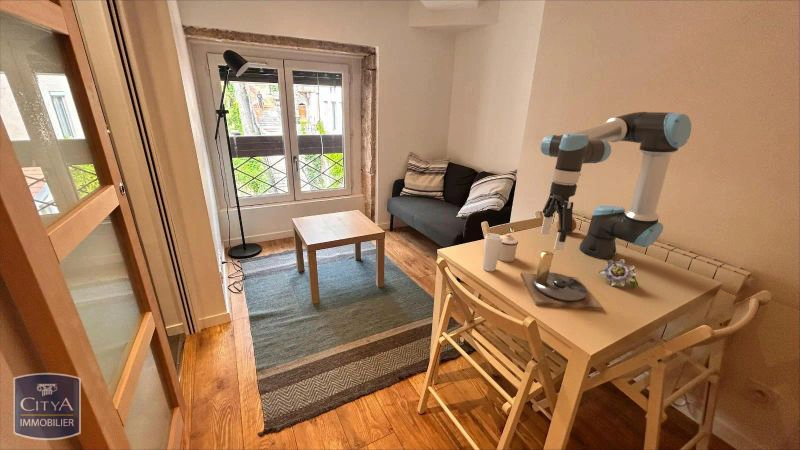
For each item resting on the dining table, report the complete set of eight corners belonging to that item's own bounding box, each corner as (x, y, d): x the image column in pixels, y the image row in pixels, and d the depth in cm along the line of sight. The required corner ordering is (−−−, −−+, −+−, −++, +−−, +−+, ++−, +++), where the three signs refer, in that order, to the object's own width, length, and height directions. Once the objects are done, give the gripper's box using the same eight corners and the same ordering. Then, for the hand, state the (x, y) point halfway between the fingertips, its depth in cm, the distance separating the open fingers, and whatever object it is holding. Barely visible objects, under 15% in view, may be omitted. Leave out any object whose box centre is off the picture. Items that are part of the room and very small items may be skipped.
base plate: (576, 280, 126) (577, 277, 125) (601, 310, 107) (602, 307, 106) (520, 275, 127) (521, 272, 127) (535, 305, 109) (536, 301, 108)
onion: (552, 228, 180) (555, 212, 176) (570, 230, 179) (574, 213, 175) (558, 235, 171) (562, 218, 167) (577, 236, 170) (581, 219, 166)
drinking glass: (488, 274, 128) (493, 240, 122) (477, 266, 133) (481, 234, 128) (500, 270, 131) (506, 238, 125) (489, 263, 136) (494, 232, 131)
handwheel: (529, 272, 126) (535, 242, 122) (577, 279, 123) (585, 248, 118) (537, 297, 110) (545, 263, 105) (593, 305, 107) (603, 271, 102)
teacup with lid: (518, 258, 142) (523, 235, 138) (507, 264, 136) (512, 240, 132) (496, 249, 150) (499, 226, 146) (484, 254, 145) (488, 231, 141)
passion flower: (609, 297, 125) (595, 272, 124) (612, 281, 132) (599, 258, 131) (642, 293, 117) (628, 266, 116) (643, 277, 124) (630, 251, 123)
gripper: (594, 193, 91) (577, 258, 99) (561, 175, 114) (549, 229, 122) (568, 191, 91) (552, 256, 99) (540, 174, 115) (530, 227, 122)
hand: (551, 241), depth 110 cm, fingers open, 13 cm apart
